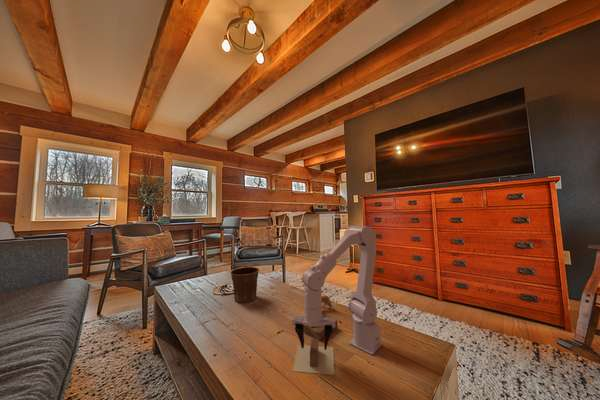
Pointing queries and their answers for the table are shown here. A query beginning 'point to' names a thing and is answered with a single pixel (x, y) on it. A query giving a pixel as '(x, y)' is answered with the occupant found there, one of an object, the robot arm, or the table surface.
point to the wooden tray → (317, 330)
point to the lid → (314, 359)
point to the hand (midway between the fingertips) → (314, 347)
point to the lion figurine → (326, 301)
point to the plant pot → (244, 284)
